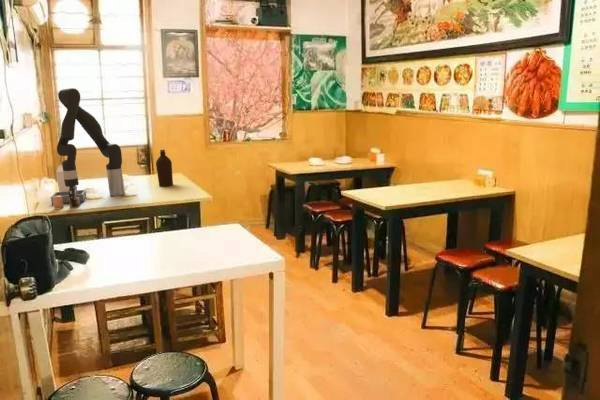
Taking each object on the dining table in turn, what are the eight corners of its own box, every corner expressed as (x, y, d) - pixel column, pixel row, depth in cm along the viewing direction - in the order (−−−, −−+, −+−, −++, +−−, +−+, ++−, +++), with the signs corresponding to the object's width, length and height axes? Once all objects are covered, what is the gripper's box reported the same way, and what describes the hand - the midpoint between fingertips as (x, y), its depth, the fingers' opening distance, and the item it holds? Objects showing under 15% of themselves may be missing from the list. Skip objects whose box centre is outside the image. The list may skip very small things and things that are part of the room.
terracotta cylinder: (64, 206, 296) (62, 195, 294) (62, 208, 291) (60, 197, 289) (55, 207, 294) (53, 195, 293) (53, 209, 290) (51, 197, 288)
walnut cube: (80, 205, 298) (79, 197, 297) (79, 207, 293) (77, 198, 292) (71, 205, 297) (70, 197, 295) (70, 207, 292) (68, 199, 291)
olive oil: (162, 187, 337) (158, 151, 331) (155, 185, 345) (151, 150, 339) (176, 185, 344) (173, 149, 337) (169, 183, 352) (166, 148, 345)
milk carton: (68, 193, 330) (64, 165, 326) (59, 193, 332) (54, 165, 327) (75, 191, 337) (71, 163, 332) (66, 190, 338) (61, 163, 334)
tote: (87, 197, 317) (86, 189, 316) (83, 202, 304) (82, 194, 303) (56, 199, 313) (55, 192, 312) (52, 205, 300) (50, 197, 299)
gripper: (75, 179, 285) (79, 207, 289) (79, 174, 298) (83, 201, 302) (61, 180, 283) (66, 208, 287) (66, 175, 296) (70, 203, 301)
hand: (75, 205), depth 295 cm, fingers open, 5 cm apart
